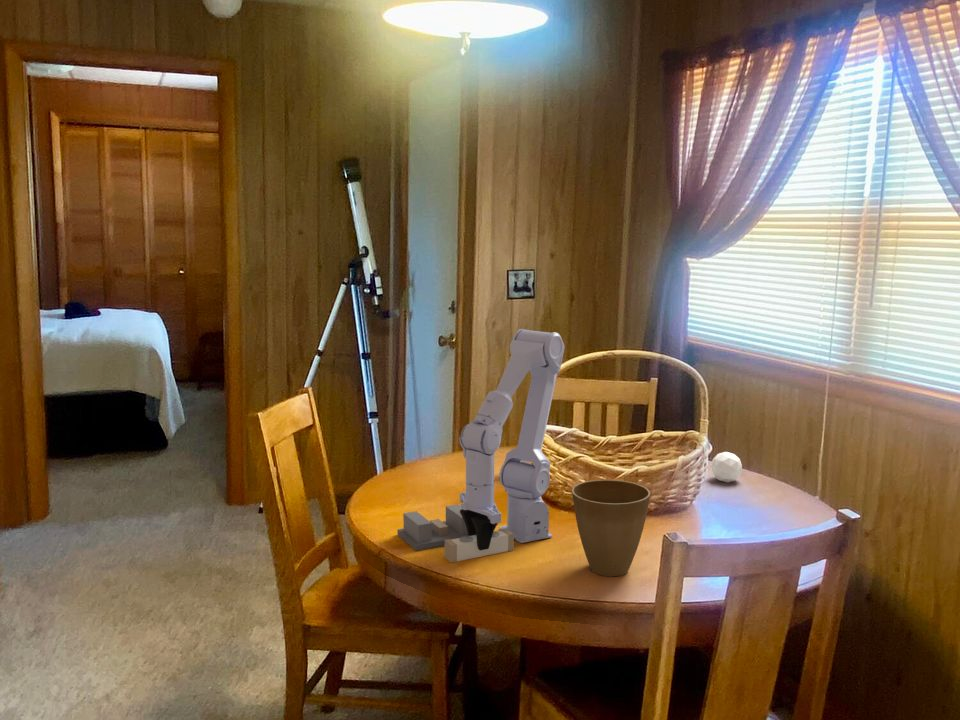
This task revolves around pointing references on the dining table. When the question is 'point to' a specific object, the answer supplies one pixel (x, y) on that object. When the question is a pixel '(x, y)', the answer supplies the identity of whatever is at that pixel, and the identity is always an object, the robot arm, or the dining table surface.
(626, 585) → the dining table surface
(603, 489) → the plant pot
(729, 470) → the geometric ball
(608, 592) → the dining table surface
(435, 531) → the grey fixture base
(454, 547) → the frame bar
